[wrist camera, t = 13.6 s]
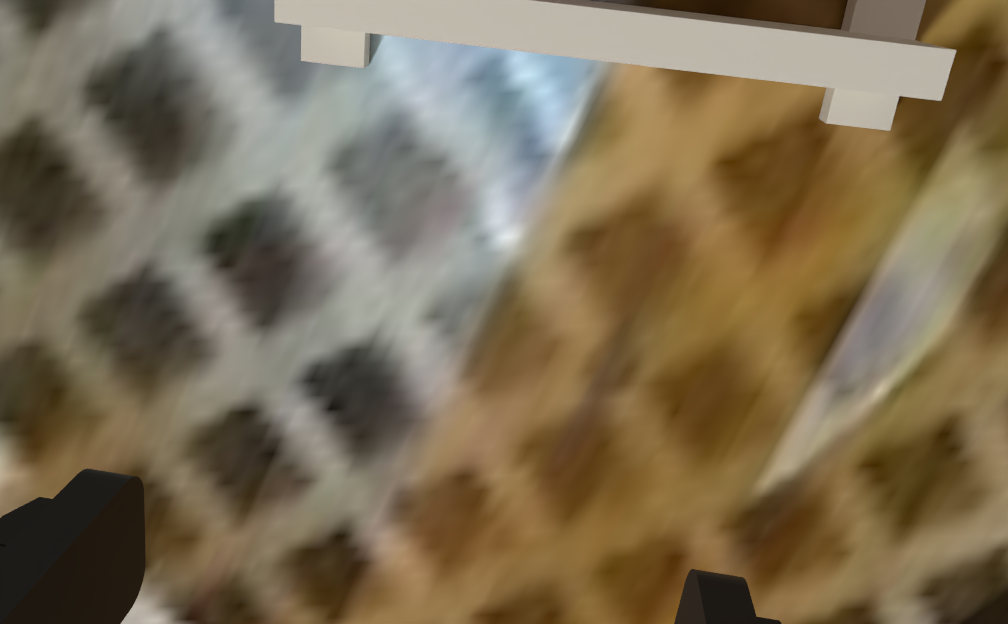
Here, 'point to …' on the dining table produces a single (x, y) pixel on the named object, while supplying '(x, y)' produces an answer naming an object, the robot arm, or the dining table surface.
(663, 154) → the dining table surface
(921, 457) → the dining table surface
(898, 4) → the rail
